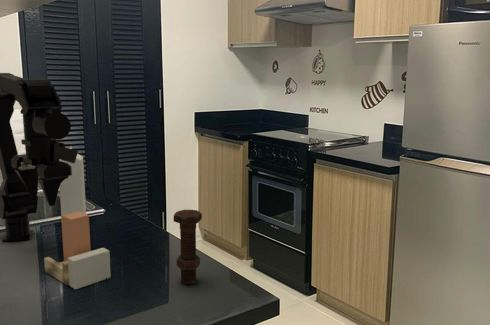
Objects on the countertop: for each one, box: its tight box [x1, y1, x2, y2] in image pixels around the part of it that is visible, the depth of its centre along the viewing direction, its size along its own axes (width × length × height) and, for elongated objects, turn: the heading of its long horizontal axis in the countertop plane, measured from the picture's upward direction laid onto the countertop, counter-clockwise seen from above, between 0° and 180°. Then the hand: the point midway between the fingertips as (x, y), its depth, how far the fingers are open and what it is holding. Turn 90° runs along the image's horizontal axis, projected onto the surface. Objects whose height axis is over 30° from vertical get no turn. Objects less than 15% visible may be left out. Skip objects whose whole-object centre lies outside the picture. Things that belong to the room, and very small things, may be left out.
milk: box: [59, 145, 87, 216], centre depth 134 cm, size 6×6×22 cm
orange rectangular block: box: [60, 211, 92, 262], centre depth 101 cm, size 4×4×12 cm
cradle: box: [43, 256, 69, 286], centre depth 103 cm, size 10×9×4 cm
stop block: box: [68, 247, 111, 290], centre depth 98 cm, size 2×8×6 cm, turn 137°
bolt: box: [173, 209, 203, 285], centre depth 98 cm, size 6×5×15 cm
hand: (43, 201), depth 110 cm, fingers open, 9 cm apart
